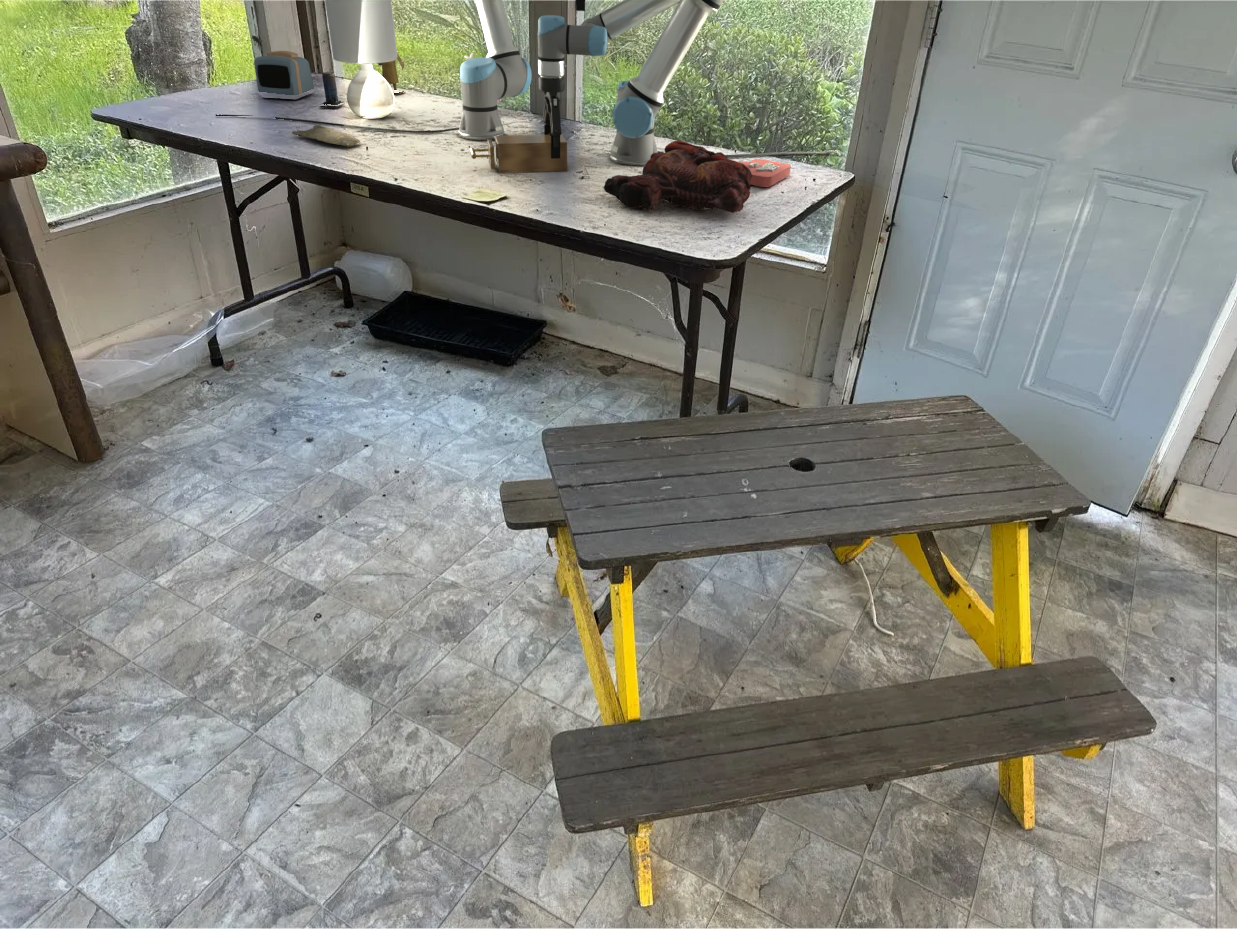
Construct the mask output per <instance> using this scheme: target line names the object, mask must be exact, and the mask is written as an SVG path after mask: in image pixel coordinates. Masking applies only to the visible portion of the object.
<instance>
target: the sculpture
mask: <svg viewBox="0 0 1237 929" xmlns="http://www.w3.org/2000/svg"><path fill="white" fill-rule="evenodd" d="M725 155H726V154H724V153H723V152H720V151H719V152H717V151H716V152H714V151H711V150H708V149H706V148H705V147H704V146H702V145H695V144H692V143H689V142H686V141H684V140H680V139H677V140H673V141H671V142H669V143H668V144H667V145H666V146H665V147H664V151H660V153H658V152H657V153H653V154H652V155H651V157H650V158H651V159H650V160H648V162H647V163H646V165H644V166H643V168H642V174H638V175H621V174H617V175H613V176H612V177H608V178H607V179H606V180H605V181H604V184H603V185H604V186H603V190H604V192H605V193H606V194H608V195H609V196H610V195H611V196H613V197H615V198H616V199H617V200H618V201H619V202H620V203H621V204H622V205H623V206H625V207H626V208H628V209H636V208H637V209H638V208H641V209H643V210H647V211H649V210H654V208H655V207H657V205H658V203H659V202H660V201H665V202H668V203H669V204H671V203H672V204H674V205H675V206H678V207H681V208H689V209H692V210H696V211H704V209H707V210H715V209H717V210H721V211H725V212H728V213H732V214H734V213H740V212H741V211H743V210H744V207H745V205H744V204H745V203H746V202H747V201H748V200H749V198H750V196H751V190H750V189H751V184H750V180H751V178H752V173H751V171H750V169H749V168H747V167H746V166H745V165H744V164H742V163H740V162H741V161H737V160H733V159H729V158H726V156H725Z"/></svg>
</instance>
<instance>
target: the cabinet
mask: <svg viewBox="0 0 1237 929" xmlns="http://www.w3.org/2000/svg"><path fill="white" fill-rule="evenodd" d="M496 142H497V145H498V159H499V165H498V162H497V148H496ZM494 150H495V166H496V168H497V170H498V173H499V174H506V173H508V174H509V173H538V172H539V173H540V172H541V173H543V172H567V171H568V141H567V140H566V138H565V137H564V135H563V133H562V134H561V135H560V158H557V159H551V136H549V135H544V134H518V135H517V134H516V135H515V134H513V135H509V134H507V135H504V136H495V139H494Z"/></svg>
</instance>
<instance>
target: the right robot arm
mask: <svg viewBox="0 0 1237 929" xmlns="http://www.w3.org/2000/svg"><path fill="white" fill-rule="evenodd" d="M724 1H725V0H621V1H620V2H618V3H616V4H614V5H612V6H610V7H608V8H606V9H605V10H603V11H602V12H600V13H598V14H596V15H594V16H592V17H591V18H590V17H589V18H587V19H585V20H584V21H582V23H581V24H567V23H566V21H565V17H564V16H562V15H556V14H555V15H554V14H546V15H541V16H540V17H539V18H538V20H537V52H538V53H537V56H538V59H537V74H538V75H539V77H538V90H539V91H540V92H542V93H543V95H544V96H543V97H544V98H543V114H542V115H543V116H542V120H543V123H544V124H543V133H544V134H543V135H549V136H551V159H557V158H560V135H561V134H562V135H563V131H562V123H561V122H562V121H561V107H560V104H561V103H560V102H561V99H560V98H559V97H558V93H563V92H564V91H565V88H566V87H565V84H566V82H565V77H564V75H565V68H566V67H567V63H566V62H565V57H566V56H565V55H569V56H570V55H574V56H590V57H603V56H605V55H606V53H607V49H608V42H610V41H611V40H612V39H614V38H616V37H618V36H620V35H622V34H624V33H625V32H627V31H629V30H631V29H633V28H635V27H637V26H638V25H640V24H643V23H644V22H646V21H648V20H650V19H652V18H654V17H656V16H657V15H659V14H661V13H663V12H665V11H667V10H668V9H670V8H673V7H674V6H676V7H675V9H674V11H673V12H672V14H671V16H670V18H669V19H668V21H667V23H666V25H665V27H664V29H663V30H662V32H661V33H660V36H659V37H658V39H657V41H656V42H655V44H654V46H653V47H652V50H651V52H650V53H649V55H648V57H647V58H646V61H645V63H644V64H643V66H642V68H641V69H640V70H639V73H638V75H637V76H635V77H631V78H629V80H620V81H619V82H618V83H617V89H616V91H617V97H616V98H617V100H616V102H615V105H614V106H613V108H612V112H611V113H612V114H611V115H612V116H611V117H612V118H611V119H612V122H613V126H614V128H615V129H616V133H615V137H614V140H613V143H612V144H611V148H610V153H609V159H610V160H611V161H612V162H613V163H616V164H619V165H626V166H645V165H646V163H647V162H648V160H650V159H651V158H650V157H651V155H652V154H653V153H657V152H658V153H660V152H661V151H660V150H658V147H657V143H656V139H655V119H656V117H657V114H658V113H659V111H660V109H661V107H662V106H663V104H664V103H665V99H664V93H665V90H666V89H667V87H668V85H669V84H670V82H671V80H672V78H673V76H674V75H675V74H676V71H677V70H678V68H679V66H680V65H681V63H682V61H683V60H684V58H685V56H686V55H687V53H688V51H689V49H690V48H691V46H692V44H693V42H694V41H695V39H696V37H697V35H698V34H699V32H700V31H701V28H702V27H703V25H704V23H705V22H706V20H707V18H708V17H709V15H710V14H712V13H716V12H718V11H719V9H720V7H721V6H722V4H723V2H724ZM834 150H835V149H830V150H829V149H828V150H823V151H822V150H821V151H813V150H812V151H779V152H777V151H776V152H759V153H740V154H724V155H725V156H726V158H727V159H729V158H731V159H732V158H750V157H751V158H752V157H769V156H770V157H771V156H792V155H794V156H795V155H796V156H797V155H799V156H801V155H827V154H835V155H836V156H837V157H840V156H841V153H840V152H839V151H837V152H835V151H836V150H835V151H834Z"/></svg>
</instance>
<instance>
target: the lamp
mask: <svg viewBox="0 0 1237 929" xmlns="http://www.w3.org/2000/svg"><path fill="white" fill-rule="evenodd" d="M324 3H325V9H326V18H327V23H328V30H329V37H330V45H331V51H332V58H333V60H334V61H336V62H341V63H348V64H360V70H358V71H357V72H356V74H354V76H353V77H352V79H351V80H350V82H349V84H348V87H347V92H346V101H347V104H348V107H349V109H350V110H351V112H352V113H354V115H356V116H358V117H360V118H362V119H368V120H369V119H370V120H371V119H372V120H375V119H382V118H385V117H387V116H389V115H390V114H391V113H392V111H393V110H394V107H395V103H396V102H395V95H394V94H393V91H392V90H393V89H392V87H391V84H390V85H389V84H388V82H387V81H386V80H385V79H384V78H383V77H382V74H380V73H379V72H378V71H376V70H375V68H374V67H373V64H378V63H383V62H390V61H394V60H398V59H397V53H398V50H397V40H396V31H395V21H394V13H393V2H392V0H324ZM361 116H365V117H361Z"/></svg>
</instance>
